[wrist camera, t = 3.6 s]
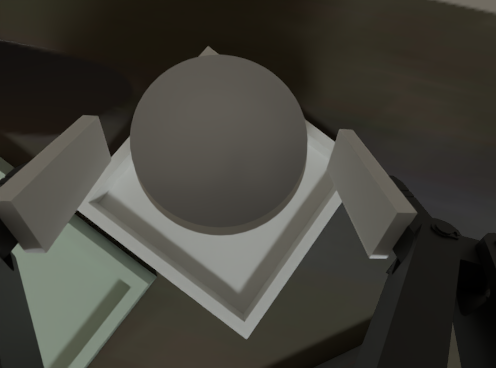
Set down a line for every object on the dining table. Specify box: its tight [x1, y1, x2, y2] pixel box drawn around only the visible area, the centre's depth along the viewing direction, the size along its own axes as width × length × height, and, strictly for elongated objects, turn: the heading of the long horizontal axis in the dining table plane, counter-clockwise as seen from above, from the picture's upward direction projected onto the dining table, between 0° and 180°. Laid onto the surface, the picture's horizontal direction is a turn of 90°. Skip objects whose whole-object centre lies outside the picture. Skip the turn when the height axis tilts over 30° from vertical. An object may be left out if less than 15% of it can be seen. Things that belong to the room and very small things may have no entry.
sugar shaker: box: [130, 55, 308, 236], centre depth 13 cm, size 5×5×13 cm
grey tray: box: [77, 46, 342, 339], centre depth 19 cm, size 15×15×2 cm
